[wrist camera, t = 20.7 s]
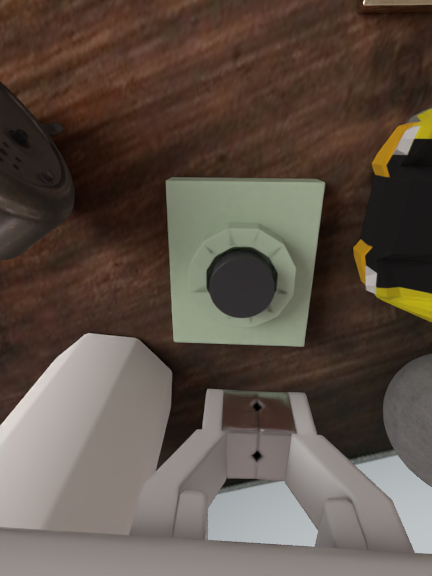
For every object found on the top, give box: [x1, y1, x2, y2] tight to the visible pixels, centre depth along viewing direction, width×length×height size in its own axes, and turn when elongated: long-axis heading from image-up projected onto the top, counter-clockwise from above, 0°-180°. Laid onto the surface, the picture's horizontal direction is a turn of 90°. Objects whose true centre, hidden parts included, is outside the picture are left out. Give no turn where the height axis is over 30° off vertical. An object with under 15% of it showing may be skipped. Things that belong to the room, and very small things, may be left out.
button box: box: [166, 177, 325, 347], centre depth 24 cm, size 12×10×4 cm
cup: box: [0, 333, 172, 535], centre depth 22 cm, size 11×11×18 cm
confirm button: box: [209, 250, 275, 318], centre depth 21 cm, size 4×4×2 cm
